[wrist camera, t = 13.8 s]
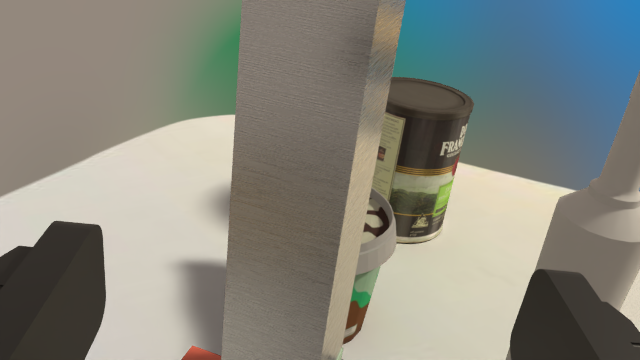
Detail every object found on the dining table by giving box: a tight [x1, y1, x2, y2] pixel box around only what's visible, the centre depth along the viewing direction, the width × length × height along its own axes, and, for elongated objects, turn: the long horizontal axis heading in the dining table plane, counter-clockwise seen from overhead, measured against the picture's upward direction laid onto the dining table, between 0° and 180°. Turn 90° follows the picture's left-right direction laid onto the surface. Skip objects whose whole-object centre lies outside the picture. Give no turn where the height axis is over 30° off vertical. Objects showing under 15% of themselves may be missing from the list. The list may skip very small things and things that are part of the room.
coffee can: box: [371, 77, 474, 243], centre depth 59 cm, size 10×10×14 cm
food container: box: [343, 187, 397, 344], centre depth 46 cm, size 12×6×10 cm, turn 18°
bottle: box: [506, 71, 640, 360], centre depth 34 cm, size 5×5×25 cm
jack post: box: [221, 0, 406, 360], centre depth 21 cm, size 6×4×23 cm, turn 71°
